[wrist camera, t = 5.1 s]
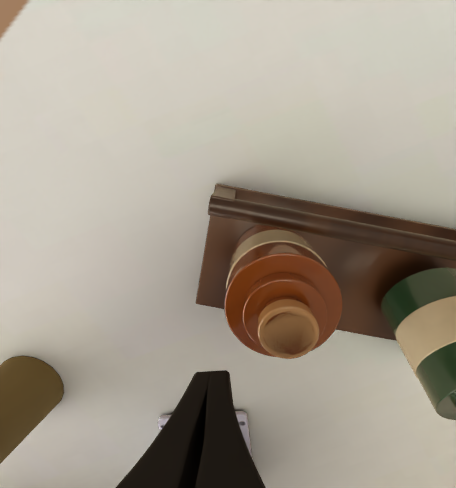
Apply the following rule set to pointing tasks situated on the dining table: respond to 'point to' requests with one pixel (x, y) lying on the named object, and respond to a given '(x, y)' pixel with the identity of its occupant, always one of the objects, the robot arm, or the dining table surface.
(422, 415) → the dining table surface
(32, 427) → the olive pawn
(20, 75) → the dining table surface
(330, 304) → the amber bottle
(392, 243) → the rack
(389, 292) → the green bottle
